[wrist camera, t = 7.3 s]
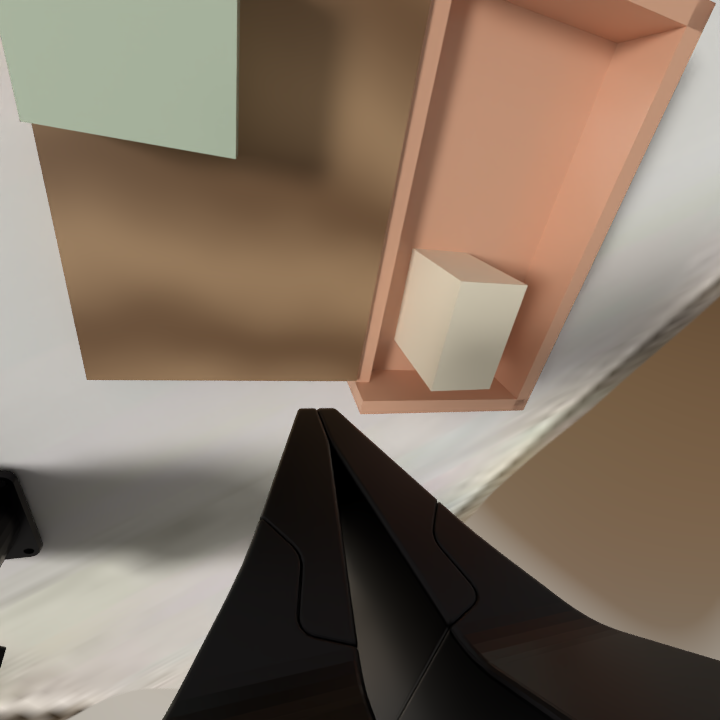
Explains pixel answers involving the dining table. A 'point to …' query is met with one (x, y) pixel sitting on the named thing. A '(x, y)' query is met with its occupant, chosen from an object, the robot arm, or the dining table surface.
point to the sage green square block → (128, 69)
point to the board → (246, 208)
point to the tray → (520, 166)
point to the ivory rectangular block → (456, 318)
